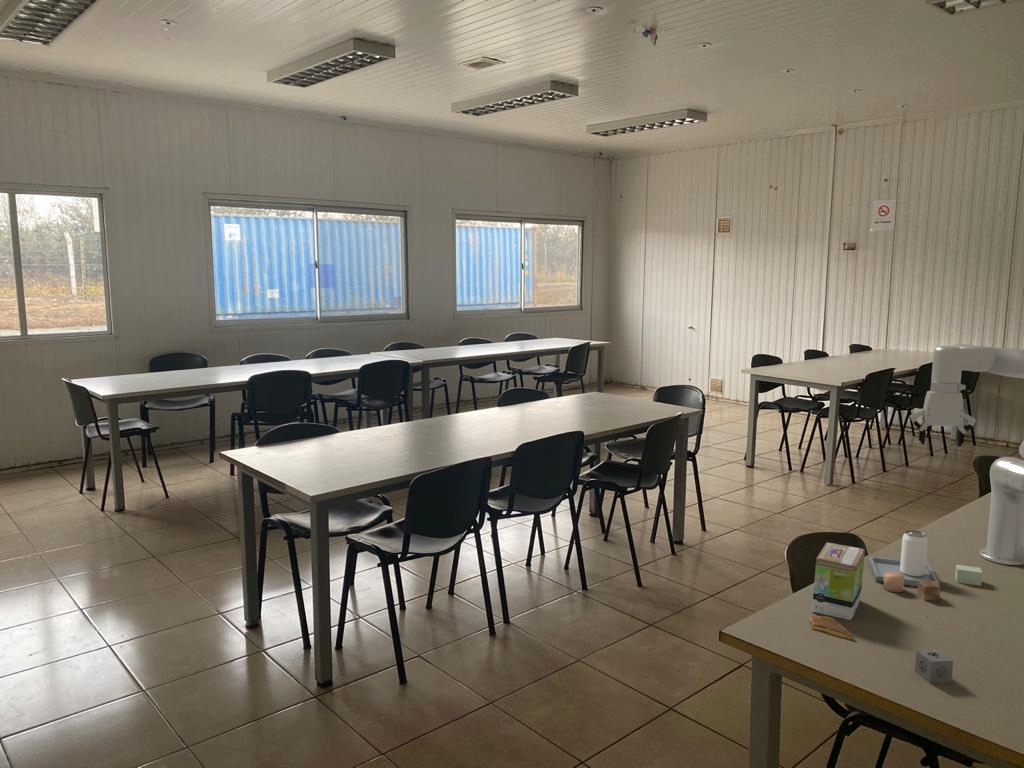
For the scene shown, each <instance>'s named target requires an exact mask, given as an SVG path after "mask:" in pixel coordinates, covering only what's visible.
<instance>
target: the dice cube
mask: <svg viewBox="0 0 1024 768" xmlns="http://www.w3.org/2000/svg"><path fill="white" fill-rule="evenodd" d="M953 670H954V660H953V659H952V658H951V657H949V656H948V655H946V654H945V653H944V652H943V651H941V650H940V649H919V650H916V652H915V664H914V673H916V672H917V673H918V674H919V676H920V677H921V678H922V677H923V678H924V679H923V678H922V679H923V680H925V681H926V682H927V681H928V682H929V683H928V682H927V683H928V684H941V683H943V684H944V682H945V683H952V682H953V681H952V679H953ZM917 673H916V674H917ZM918 674H917V675H918ZM938 682H940V683H938Z"/></svg>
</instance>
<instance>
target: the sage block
mask: <svg viewBox="0 0 1024 768" xmlns="http://www.w3.org/2000/svg"><path fill="white" fill-rule="evenodd" d="M954 579H955V582H956V583H959V584H965V585H972V586H973V585H974V586H978V587H979V586H980V587H982V581H983V571H982V568H981V567H975V566H969V565H962V564H956V565H955V576H954Z"/></svg>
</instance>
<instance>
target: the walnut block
mask: <svg viewBox="0 0 1024 768" xmlns="http://www.w3.org/2000/svg"><path fill="white" fill-rule="evenodd" d="M916 590H917V591H916V592H917V593H916V595H917V594H918V595H919V596H918V595H917V596H918V597H919V598H920V599H921V600H922V601H925V600H933V601H932V602H935V601H936V602H940V598H941V586H939V585H938V584H936V583H935V582H934V581H918V587H917V589H916Z"/></svg>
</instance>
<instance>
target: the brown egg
mask: <svg viewBox="0 0 1024 768" xmlns="http://www.w3.org/2000/svg"><path fill="white" fill-rule="evenodd" d="M883 589H884V590H885V589H886V590H885V591H886V592H887V591H888V592H890V591H891V592H892V593H902V592H904V590H905V585H904V575H903V574H901V573H897V572H885V573H884V583H883Z"/></svg>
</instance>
